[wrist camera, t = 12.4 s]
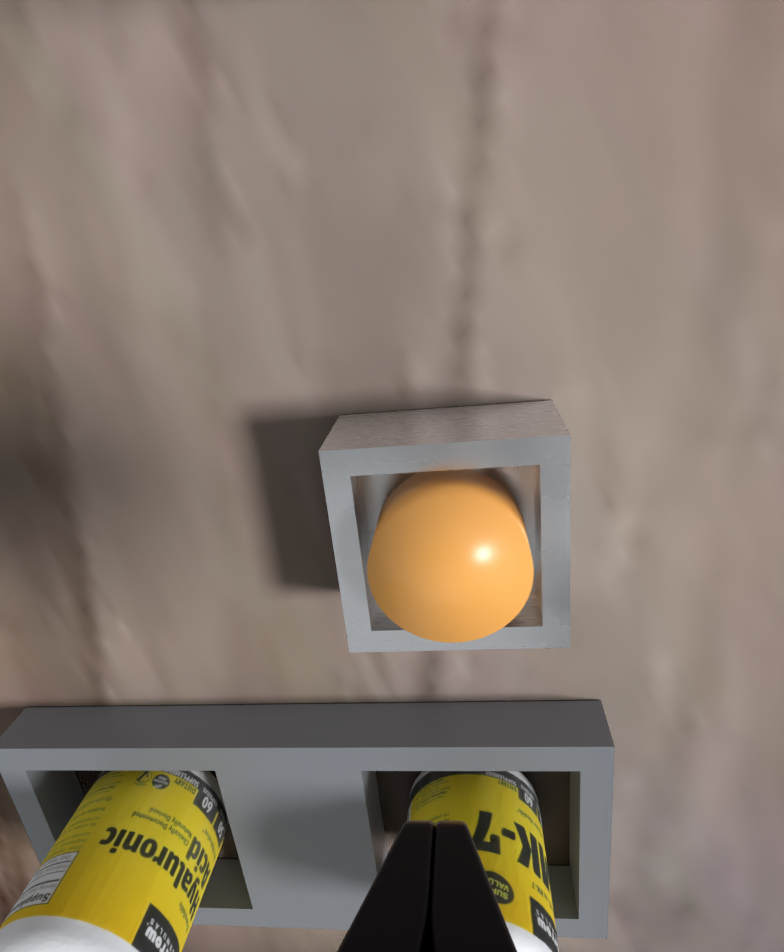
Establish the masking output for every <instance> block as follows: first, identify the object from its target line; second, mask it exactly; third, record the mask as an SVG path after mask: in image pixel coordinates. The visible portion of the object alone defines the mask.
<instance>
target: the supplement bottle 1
mask: <svg viewBox="0 0 784 952" xmlns="http://www.w3.org/2000/svg"><path fill="white" fill-rule="evenodd" d="M228 826H229V820H228V816H227V812H226V809H225V805H224V801H223V798H222V794H221V791H220V787H219V783H218V780H217V779H216V777H215V776H214V775H213V774H212V773H211V772H209V771H102V773H101V774H100V775H99V777H98V778H97V779H96V781H95V782H94V784H93V786H92V787H91V788H90V790H89V791H88V793H87V794H86V796H85V798H84V799H83V801H82V802H81V804H80V805H79V807H78V808H77V810H76V811H75V813H74V814H73V816H72V817H71V819H70V820H69V822H68V823H67V825H66V826H65V828H64V830H63V831H62V833H61V834H60V836H59V838H58V839H57V841H56V842H55V844H54V845H53V847H52V848H51V850H50V851H49V853H48V854H47V856H46V857H45V859H44V861H43V862H42V864H41V865H40V867H39V868H38V870H37V871H36V873H35V874H34V876H33V878H32V879H31V881H30V882H29V884H28V885H27V887H26V888H25V890H24V891H23V893H22V895H21V896H20V898H19V899H18V901H17V902H16V904H15V905H14V907H13V908H12V910H11V912H10V913H9V915H8V916H7V917H6V919H5V920H4V922H3V924H2V925H1V927H0V952H182V949H183V946H184V944H185V941H186V938H187V936H188V933H189V931H190V928H191V926H192V923H193V920H194V918H195V915H196V912H197V910H198V907H199V904H200V901H201V899H202V896H203V893H204V891H205V888H206V885H207V883H208V881H209V878H210V875H211V873H212V870H213V868H214V865H215V862H216V860H217V857H218V854H219V852H220V849H221V846H222V844H223V841H224V839H225V836H226V832H227V829H228Z"/></svg>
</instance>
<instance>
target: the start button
mask: <svg viewBox="0 0 784 952" xmlns="http://www.w3.org/2000/svg"><path fill="white" fill-rule="evenodd" d="M533 574H534V569H533V561H532V556H531V551H530V547H529V542H528V537H527V533H526V528H525V523H524V519H523V515H522V513H521V510H520V508H519V506H518V504H517V503H516V501H515V499H514V498H513V497H512V495H511V494H510V493H509V492H508V491H507V490H506V489H505V488H504V487H503V486H502V485H501V484H500V483H498V482H497V481H495V480H494V479H492V478H490V477H489V476H487V475H485V474H482V473H480V472H477V471H474V470H470V469H462V470H445V471H428V472H420V473H418V474H415V475H414V476H412V477H410V478H408V479H406V480H405V481H404V482H402V483H401V484H400V485H399V486H398V487H396V488H395V489H394V490H393V491H392V493H391V494H390V495H389V496H388V498H387V499H386V501H385V503H384V505H383V507H382V509H381V511H380V514H379V518H378V522H377V526H376V529H375V533H374V537H373V541H372V545H371V548H370V552H369V556H368V563H367V575H368V582H369V586H370V589H371V592H372V595H373V597H374V599H375V600H376V602H377V604H378V605H379V607H380V608H381V610H382V611H383V612H384V613H385V614H386V615H387V617H388V618H389V619H391V620H392V621H393V622H394V623H395V624H397V625H398V626H399V627H401V628H402V629H404V630H406V631H408V632H410V633H412V634H414V635H416V636H419V637H421V638H424V639H428V640H432V641H438V642H449V643H457V642H467V641H472V640H477V639H480V638H483V637H486V636H488V635H490V634H493V633H495V632H496V631H498V630H500V629H501V628H503V627H504V626H506V625H507V624H508V623H510V622H511V621H512V620H513V619H514V618H515V617H516V616H517V615H518V613H519V612H520V611H521V609H522V608H523V607H524V605H525V603H526V601H527V599H528V597H529V594H530V592H531V588H532V584H533Z"/></svg>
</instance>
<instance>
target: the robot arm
mask: <svg viewBox="0 0 784 952" xmlns="http://www.w3.org/2000/svg"><path fill="white" fill-rule="evenodd" d="M337 952H517V950H516V947H515V945H514V942H513V940H512V937H511V935H510V932H509V930H508V927H507V925H506V922H505V920H504V917H503V914H502V912H501V909H500V907H499V904H498V902H497V899H496V897H495V894H494V892H493V889H492V887H491V884H490V882H489V879H488V877H487V874H486V872H485V869H484V866H483V864H482V861H481V859H480V856H479V854H478V851H477V849H476V846H475V844H474V841H473V839H472V836H471V834H470V831H469V829H468V826H467V825H466V823H465V822H463V821H439V822H437V824H436V826H435V824H434V822H432V821H429V820H409V821H407V822H405V823H404V824H403V826H402V827H401V829H400V831H399V833H398V835H397V837H396V839H395V841H394V843H393V845H392V847H391V849H390V850H389V852H388V854H387V856H386V858H385V860H384V862H383V864H382V866H381V868H380V870H379V872H378V874H377V876H376V878H375V879H374V881H373V883H372V885H371V887H370V889H369V891H368V893H367V895H366V897H365V899H364V901H363V903H362V905H361V906H360V908H359V910H358V912H357V914H356V916H355V918H354V920H353V922H352V924H351V926H350V928H349V930H348V932H347V934H346V935H345V937H344V939H343V941H342V943H341V945H340V947H339V949H338V951H337Z"/></svg>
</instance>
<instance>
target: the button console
mask: <svg viewBox="0 0 784 952" xmlns="http://www.w3.org/2000/svg"><path fill="white" fill-rule="evenodd" d="M318 452H319V458H320V465H321V471H322V478H323V484H324V490H325V497H326V503H327V510H328V516H329V523H330V529H331V536H332V542H333V549H334V555H335V561H336V568H337V574H338V581H339V587H340V594H341V600H342V607H343V613H344V620H345V626H346V633H347V639H348V645H349V652H392V651H436V650H479V649H523V648H567V647H570V433H569V431H568V429H567V427H566V425H565V424H564V422H563V420H562V418H561V416H560V414H559V412H558V410H557V408H556V406H555V404H554V402H553V400H548V401H534V402H520V403H506V404H492V405H478V406H464V407H450V408H436V409H422V410H408V411H394V412H381V413H367V414H353V415H340V416H339V417H338V419H337V421H336V422H335V424H334V426H333V427H332V429H331V431H330V433H329V434H328V436H327V438H326V439H325V441H324V443H323V444H322V446H321V448H320V450H319V451H318ZM462 469H470V470H474V471H477V472H480V473H482V474H485V475H487V476H489V477H490V478H492V479H494V480H495V481H497V482H498V483H500V484H501V485H502V486H503V487H504V488H505V489H506V490H507V491H508V492H509V493H510V494H511V495H512V497H513V498H514V499H515V501H516V503H517V504H518V506H519V508H520V510H521V513H522V515H523V519H524V523H525V528H526V533H527V537H528V542H529V547H530V551H531V556H532V561H533V569H534V574H533V584H532V588H531V592H530V594H529V597H528V599H527V601H526V603H525V605H524V607H523V608H522V609H521V611H520V612H519V613H518V615H517V616H516V617H515V618H514V619H513V620H512V621H511V622H510V623H508V624H507V625H506V626H504V627H503V628H501V629H500V630H498V631H496V632H495V633H493V634H490V635H488V636H486V637H483V638H480V639H477V640H472V641H467V642H457V643H449V642H438V641H432V640H428V639H424V638H421V637H419V636H416V635H414V634H412V633H410V632H408V631H406V630H404V629H402V628H401V627H399V626H398V625H397V624H395V623H394V622H393V621H392V620H391V619H389V618H388V617H387V615H386V614H385V613H384V612H383V611H382V610H381V608H380V607H379V605H378V604H377V602H376V600H375V599H374V597H373V595H372V592H371V589H370V586H369V582H368V575H367V563H368V556H369V552H370V548H371V545H372V541H373V537H374V533H375V529H376V526H377V522H378V518H379V514H380V511H381V509H382V507H383V505H384V503H385V501H386V499H387V498H388V496H389V495H390V494H391V493H392V491H393V490H394V489H395V488H396V487H398V486H399V485H400V484H401V483H402V482H404V481H405V480H406V479H408V478H410V477H412V476H414V475H415V474H418V473H420V472H428V471H445V470H462Z"/></svg>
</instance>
